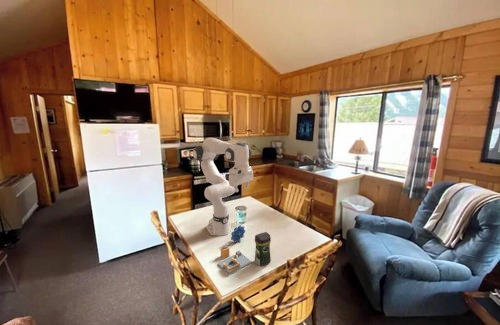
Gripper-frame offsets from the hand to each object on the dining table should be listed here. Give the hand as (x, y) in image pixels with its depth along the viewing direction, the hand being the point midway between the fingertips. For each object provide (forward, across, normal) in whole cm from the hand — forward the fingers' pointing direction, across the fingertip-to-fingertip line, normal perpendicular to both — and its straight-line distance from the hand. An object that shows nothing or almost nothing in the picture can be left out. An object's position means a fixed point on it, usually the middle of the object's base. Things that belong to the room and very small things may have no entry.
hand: (241, 189), depth 134 cm
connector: (+43, +12, -4) cm, 44 cm away
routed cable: (+42, +11, +4) cm, 43 cm away
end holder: (+42, +18, +7) cm, 46 cm away
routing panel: (+43, +13, +6) cm, 45 cm away
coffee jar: (+43, +1, +18) cm, 46 cm away
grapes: (+43, -7, -10) cm, 45 cm away
